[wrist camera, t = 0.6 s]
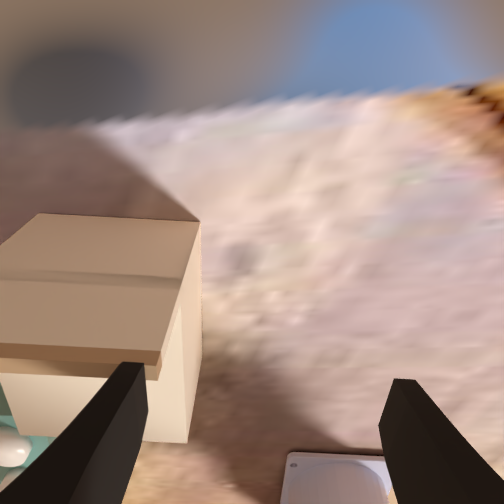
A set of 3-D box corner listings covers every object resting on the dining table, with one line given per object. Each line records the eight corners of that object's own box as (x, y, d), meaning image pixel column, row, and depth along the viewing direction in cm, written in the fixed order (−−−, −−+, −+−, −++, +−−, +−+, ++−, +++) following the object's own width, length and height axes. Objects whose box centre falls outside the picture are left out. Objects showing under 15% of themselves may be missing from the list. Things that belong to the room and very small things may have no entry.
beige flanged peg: (202, 356, 24) (171, 530, 16) (70, 349, 24) (-31, 520, 16) (200, 221, 20) (156, 365, 11) (38, 213, 20) (-127, 351, 11)
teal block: (87, 453, 30) (63, 513, 26) (27, 451, 30) (-6, 511, 26) (65, 371, 25) (32, 429, 22) (-6, 368, 25) (-50, 426, 22)
